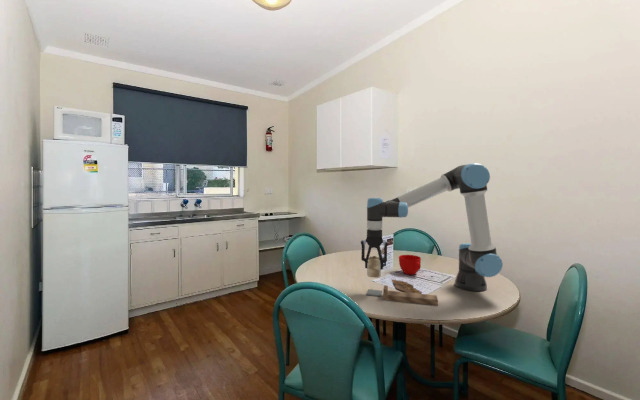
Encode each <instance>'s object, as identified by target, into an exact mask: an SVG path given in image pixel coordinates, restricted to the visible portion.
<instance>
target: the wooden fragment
mask: <svg viewBox="0 0 640 400" xmlns="http://www.w3.org/2000/svg"><path fill="white" fill-rule="evenodd" d="M391 282H392V283H393V285H394V287H395V289H396V290H398V291H400V292H408V293H418V294H423V292H422V291H421V290H419V289H417V288H414V285H413V284H411V283H408V282H407V281H403V280H396V279H392V278H391Z"/></svg>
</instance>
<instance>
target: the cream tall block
mask: <svg viewBox="0 0 640 400" xmlns="http://www.w3.org/2000/svg"><path fill="white" fill-rule="evenodd" d="M379 262H380V259H379V256H376V255H372V256H369V259H368V276H367V277H368V278H377V279H379V278H380V277H379Z"/></svg>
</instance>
